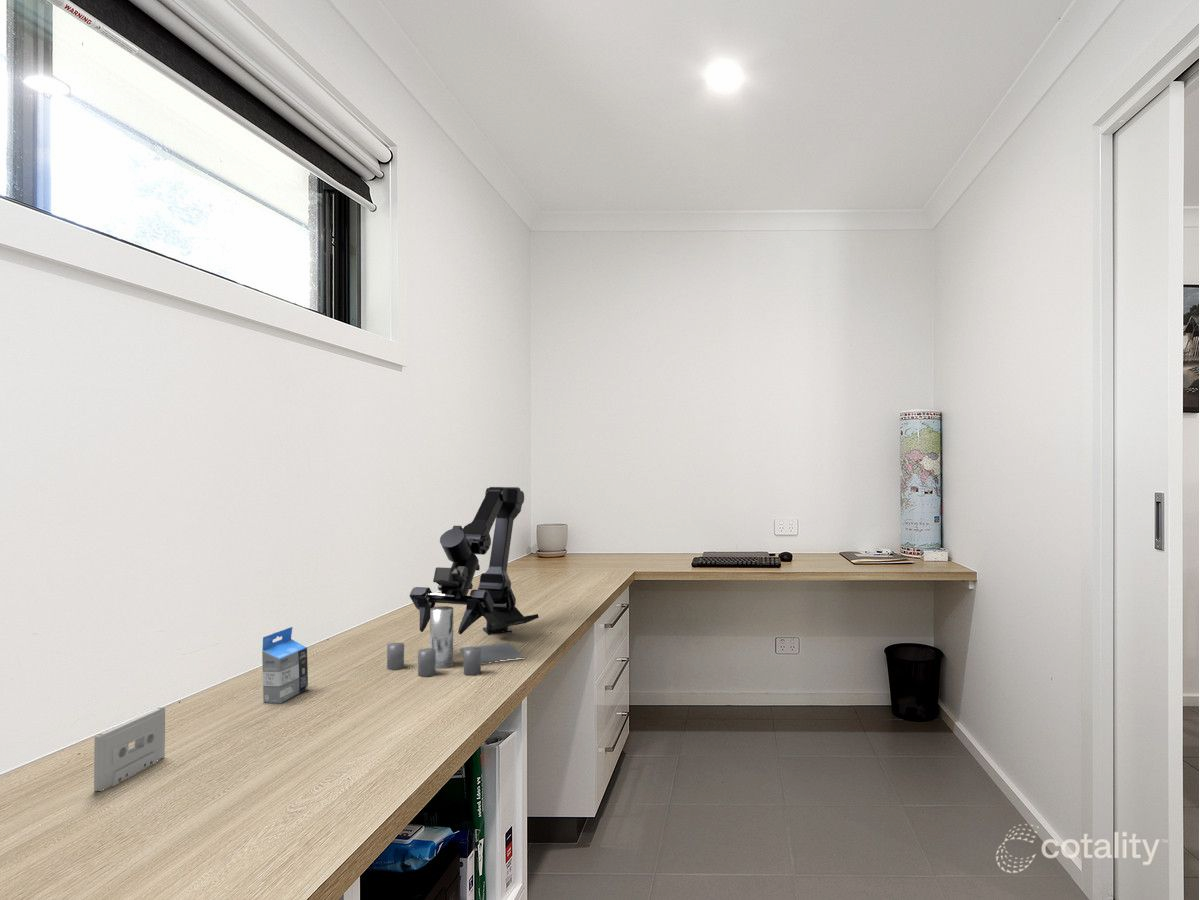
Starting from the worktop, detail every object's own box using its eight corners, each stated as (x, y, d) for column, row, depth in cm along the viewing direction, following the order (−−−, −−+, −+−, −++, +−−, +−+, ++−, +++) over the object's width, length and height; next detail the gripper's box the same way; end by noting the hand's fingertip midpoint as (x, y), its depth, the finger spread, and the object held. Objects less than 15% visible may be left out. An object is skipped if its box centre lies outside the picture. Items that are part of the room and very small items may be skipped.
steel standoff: (428, 663, 161) (428, 607, 161) (450, 661, 163) (450, 605, 163) (432, 669, 156) (432, 611, 156) (455, 667, 158) (455, 609, 158)
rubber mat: (460, 649, 173) (460, 647, 173) (508, 644, 177) (508, 642, 177) (473, 664, 160) (473, 662, 160) (525, 659, 164) (525, 656, 164)
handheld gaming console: (504, 634, 178) (505, 620, 178) (479, 625, 186) (480, 611, 186) (538, 627, 186) (539, 614, 186) (513, 618, 193) (514, 605, 193)
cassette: (157, 757, 110) (157, 706, 110) (168, 757, 110) (168, 707, 110) (90, 792, 98) (90, 735, 98) (102, 793, 98) (102, 736, 98)
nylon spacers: (392, 664, 160) (392, 642, 160) (483, 671, 155) (483, 647, 155) (376, 673, 153) (376, 649, 154) (470, 680, 148) (470, 655, 148)
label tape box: (280, 704, 134) (280, 637, 134) (261, 703, 135) (261, 636, 135) (308, 689, 142) (309, 627, 143) (290, 688, 143) (290, 626, 144)
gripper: (413, 552, 167) (388, 609, 156) (489, 554, 163) (469, 613, 152) (429, 581, 174) (406, 637, 163) (501, 584, 170) (483, 642, 159)
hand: (440, 632), depth 159 cm, fingers open, 9 cm apart
